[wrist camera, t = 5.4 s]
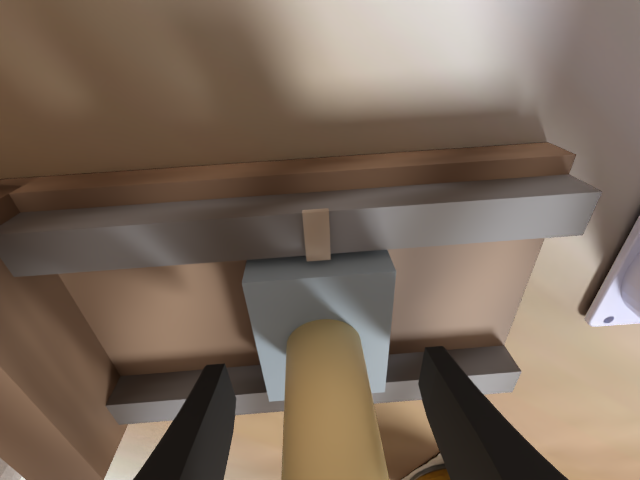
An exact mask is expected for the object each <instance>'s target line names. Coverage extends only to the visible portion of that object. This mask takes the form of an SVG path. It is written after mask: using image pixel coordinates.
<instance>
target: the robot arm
mask: <svg viewBox="0 0 640 480" xmlns="http://www.w3.org/2000/svg"><path fill="white" fill-rule="evenodd" d="M585 321H586V322H587V323H588V324H589V325H590V326H594V327H597V326H610V325H623V324H635V323H640V215H639V217H638V219H637V221H636V223H635V225H634V226H633V228H632V230H631V232H630V234H629V236H628V237H627V239H626V241H625V243H624V245H623V247H622V249H621V250H620V252H619V254H618V256H617V258H616V260H615V262H614V263H613V265H612V267H611V269H610V271H609V273H608V275H607V276H606V278H605V280H604V282H603V284H602V286H601V288H600V289H599V291H598V293H597V295H596V297H595V299H594V301H593V302H592V304H591V306H590V308H589V310H588V312H587V314H586V315H585ZM418 385H419V389H420V393H421V397H422V401H423V405H424V408H425V412H426V416H427V418H428V421H429V424H430V427H431V429H432V432H433V435H434V437H435V440H436V443H437V445H438V448H439V451H440V453H441V456H442V458H443V461H444V464H445V466H446V469H447V472H448V474H449V477H450V480H568V479H567V478H566V477H565V476H564V475H563V474H561V473H560V472H559V471H558V470H557V469H556V468H555V467H554V466H553V465H552V464H551V463H550V462H548V461H547V460H546V459H545V458H544V457H543V456H542V455H541V454H540V453H539V452H538V451H537V450H536V449H535V448H534V447H533V446H532V445H531V444H530V443H529V442H528V441H527V440H526V439H525V438H524V437H523V436H522V435H521V434H520V433H519V432H518V431H517V430H516V429H515V428H514V427H513V426H512V425H511V424H510V423H509V422H508V421H507V420H506V419H505V418H504V417H503V415H502V414H501V413H500V412H499V411H498V410H497V409H496V408H495V407H494V406H493V404H492V403H491V402H490V401H489V400H488V399H487V398H486V397H485V396H484V394H483V393H482V392H481V391H480V390H479V389H478V388H477V386H476V385H475V384H474V383H473V382H472V380H471V379H470V378H469V377H468V376H467V374H466V373H465V372H464V371H463V370H462V368H461V367H460V366H459V365H458V363H457V362H456V361H455V360H454V358H453V357H452V356H451V355H450V353H449V352H448V351H447V350H446V348H445V347H443V346H436V347H425V350H424V355H423V361H422V366H421V371H420V377H419V382H418ZM235 409H236V396H235V393H234V390H233V387H232V384H231V381H230V378H229V374H228V371H227V368H226V365H225V363H224V364H211V365H206V366H205V367H204V369H203V370H202V372H201V374H200V376H199V378H198V380H197V381H196V383H195V385H194V387H193V388H192V390H191V392H190V394H189V395H188V397H187V399H186V400H185V402H184V404H183V406H182V407H181V409H180V411H179V412H178V414H177V415H176V417H175V418H174V420H173V422H172V423H171V425H170V426H169V428H168V430H167V431H166V433H165V434H164V436H163V437H162V439H161V440H160V442H159V443H158V445H157V446H156V448H155V449H154V451H153V452H152V454H151V455H150V457H149V458H148V459H147V461H146V462H145V464H144V465H143V467H142V468H141V470H140V471H139V472H138V474H137V475H136V477H135V478H134V479H133V480H224V475H225V470H226V465H227V460H228V455H229V450H230V445H231V440H232V435H233V429H234V420H235Z"/></svg>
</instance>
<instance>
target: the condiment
mask: <svg viewBox="0 0 640 480" xmlns="http://www.w3.org/2000/svg"><path fill="white" fill-rule="evenodd" d="M402 480H450V477H449V474H448V472H447V469H446V466H445V464H444V461H443V458H442V456H441V453H440V454H438V456H437V457H436V458H433V459H432V460H430V461H429V462H428V463H427V464H424V465H423V466H422V467H420V468H418V469H416V470H414V471H413V472H412V473H410V474H409V475H408V476H406V477H405V478H403V479H402Z"/></svg>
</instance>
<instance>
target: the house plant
mask: <svg viewBox="0 0 640 480" xmlns="http://www.w3.org/2000/svg"><path fill="white" fill-rule="evenodd" d="M20 478H21V475H20V474H19V473H18V472H16V471H15V470H14V469H13V468H12V467H10V466H9V465H8V464H7V463H6V462H4V461H3V460H2V459H1V458H0V480H20Z"/></svg>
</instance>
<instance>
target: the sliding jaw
mask: <svg viewBox="0 0 640 480" xmlns="http://www.w3.org/2000/svg"><path fill="white" fill-rule="evenodd" d="M395 281H396V269H395V267H394V265H393V262H392V260H391V257H390V255H389V252H388V250H375V251H361V252H348V253H334V254H331V260H320V261H307V260H306V256H293V257H280V258H266V259H253V260H247V262H246V266H245V271H244V275H243V279H242V287H243V291H244V295H245V300H246V304H247V308H248V313H249V317H250V321H251V325H252V330H253V334H254V338H255V343H256V347H257V351H258V356H259V360H260V364H261V368H262V373H263V377H264V381H265V386H266V390H267V394H268V398H269V402H271V401H284V425H283V452H282V478H281V480H389V476H388V472H387V467H386V462H385V457H384V452H383V447H382V442H381V437H380V432H379V427H378V422H377V417H376V413H375V408H374V403H373V398H372V393H380V392H385V386H386V375H387V365H388V354H389V344H390V333H391V323H392V312H393V302H394V291H395Z"/></svg>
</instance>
